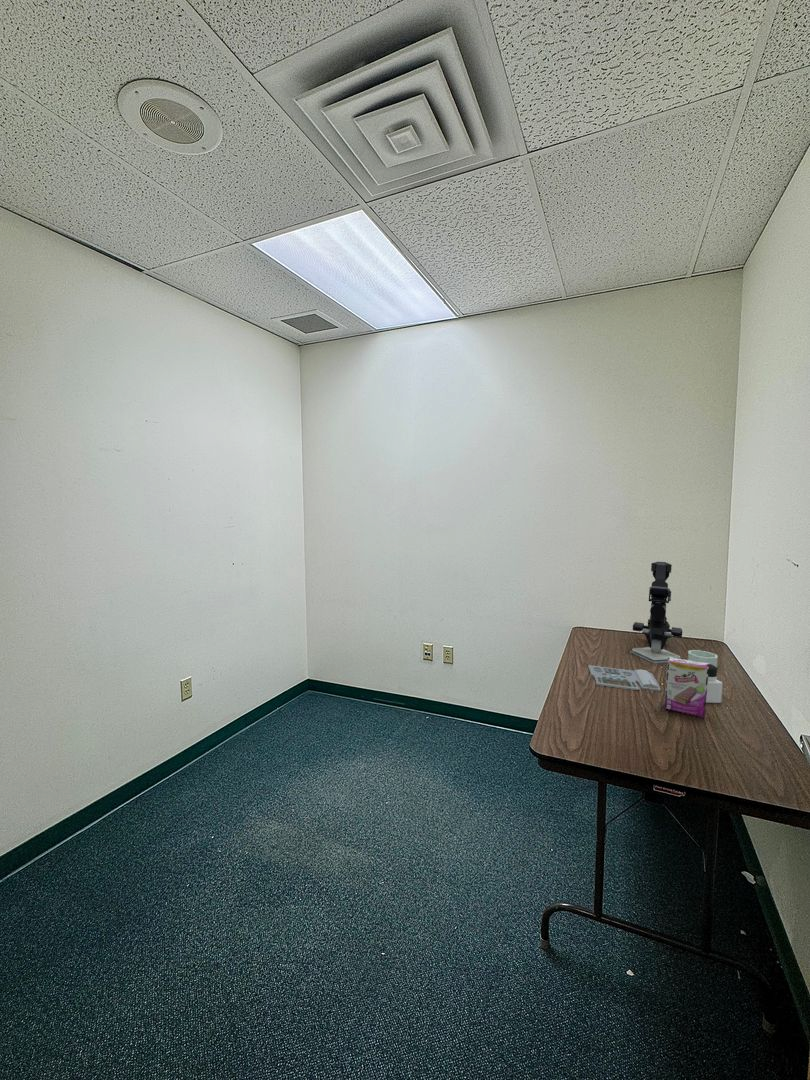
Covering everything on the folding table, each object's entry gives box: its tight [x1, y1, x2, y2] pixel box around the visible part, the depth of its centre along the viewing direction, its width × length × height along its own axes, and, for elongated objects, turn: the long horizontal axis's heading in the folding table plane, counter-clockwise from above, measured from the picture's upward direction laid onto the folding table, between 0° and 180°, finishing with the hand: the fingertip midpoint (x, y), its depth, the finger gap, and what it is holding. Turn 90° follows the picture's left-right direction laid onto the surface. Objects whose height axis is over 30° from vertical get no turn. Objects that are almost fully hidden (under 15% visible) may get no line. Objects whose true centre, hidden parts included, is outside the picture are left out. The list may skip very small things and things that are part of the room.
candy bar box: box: [664, 657, 709, 719], centre depth 143 cm, size 11×5×16 cm, turn 59°
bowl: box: [687, 649, 719, 669], centre depth 185 cm, size 10×10×5 cm
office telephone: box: [588, 664, 661, 692], centre depth 170 cm, size 23×3×20 cm
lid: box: [631, 640, 681, 660], centre depth 196 cm, size 13×13×6 cm
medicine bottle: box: [706, 663, 724, 704], centre depth 153 cm, size 7×7×12 cm
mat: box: [628, 650, 668, 664], centre depth 196 cm, size 15×15×1 cm
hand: (656, 648), depth 196 cm, fingers closed on lid, 4 cm apart
